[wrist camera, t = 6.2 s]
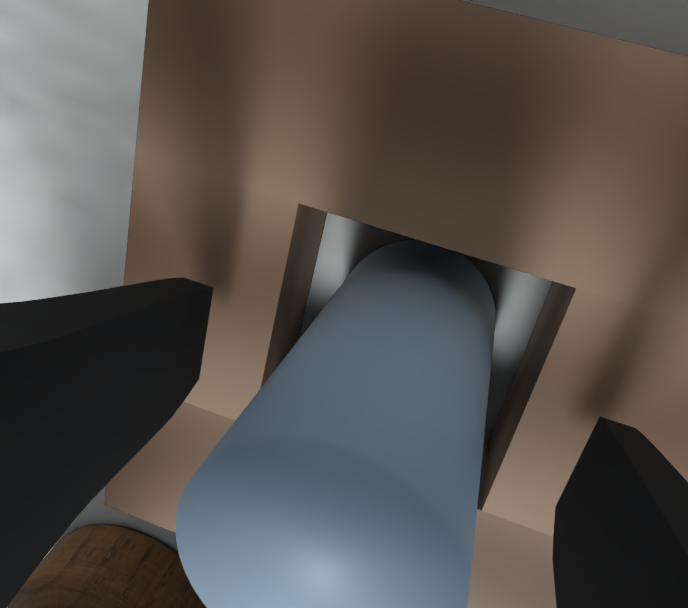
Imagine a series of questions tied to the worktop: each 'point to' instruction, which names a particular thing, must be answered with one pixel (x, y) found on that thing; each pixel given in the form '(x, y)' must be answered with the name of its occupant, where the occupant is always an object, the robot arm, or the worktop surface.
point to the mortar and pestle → (108, 573)
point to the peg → (355, 451)
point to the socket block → (420, 221)
